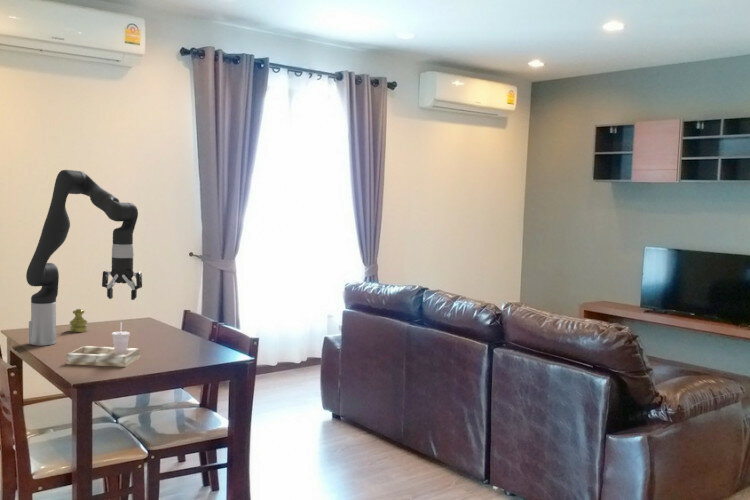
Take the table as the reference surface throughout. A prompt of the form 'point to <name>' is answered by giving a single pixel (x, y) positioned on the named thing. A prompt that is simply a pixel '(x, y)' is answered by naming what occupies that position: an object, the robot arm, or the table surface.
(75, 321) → the olive green stacked toy
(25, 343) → the table surface
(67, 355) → the cream rectangular tray
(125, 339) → the smoothie
